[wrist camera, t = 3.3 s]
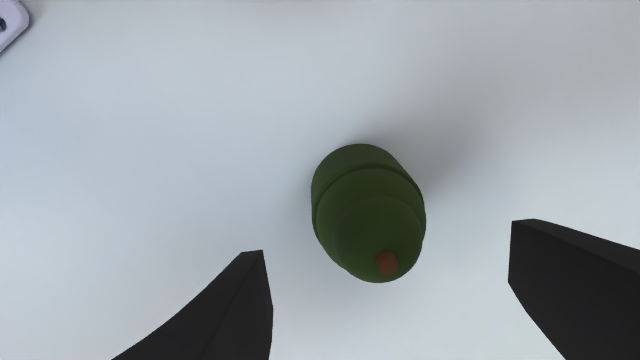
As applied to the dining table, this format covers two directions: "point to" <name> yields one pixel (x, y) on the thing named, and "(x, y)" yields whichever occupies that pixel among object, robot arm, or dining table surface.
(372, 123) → the dining table surface
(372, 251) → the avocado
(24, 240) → the dining table surface
